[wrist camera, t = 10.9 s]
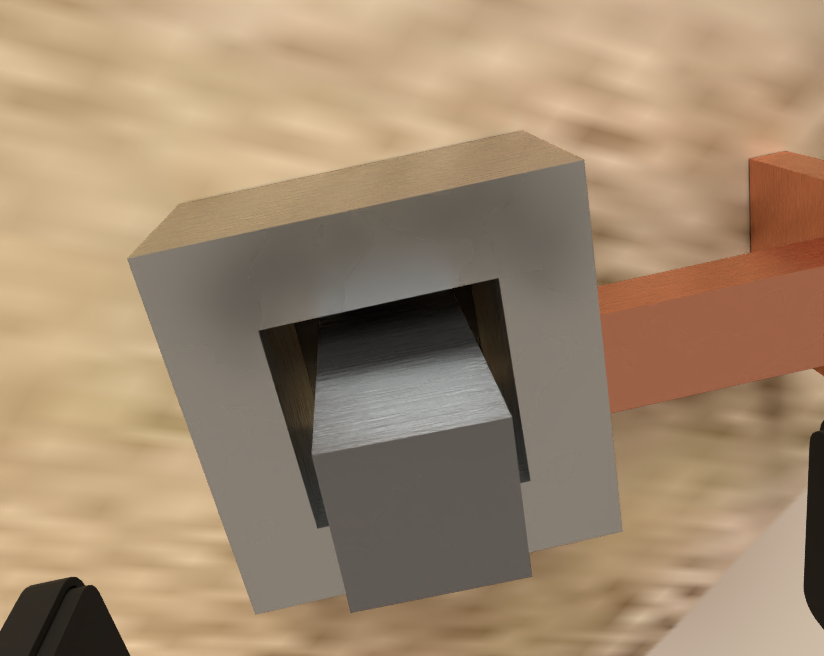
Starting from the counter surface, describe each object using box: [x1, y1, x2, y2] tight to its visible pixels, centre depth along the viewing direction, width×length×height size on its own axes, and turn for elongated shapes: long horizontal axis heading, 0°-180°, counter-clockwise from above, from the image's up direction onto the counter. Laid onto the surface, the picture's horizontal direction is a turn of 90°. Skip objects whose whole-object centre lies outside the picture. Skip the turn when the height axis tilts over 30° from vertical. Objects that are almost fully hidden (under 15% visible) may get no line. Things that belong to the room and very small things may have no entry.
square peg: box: [312, 289, 532, 613], centre depth 16 cm, size 3×3×9 cm
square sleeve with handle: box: [127, 130, 824, 615], centre depth 18 cm, size 16×9×5 cm, turn 101°
